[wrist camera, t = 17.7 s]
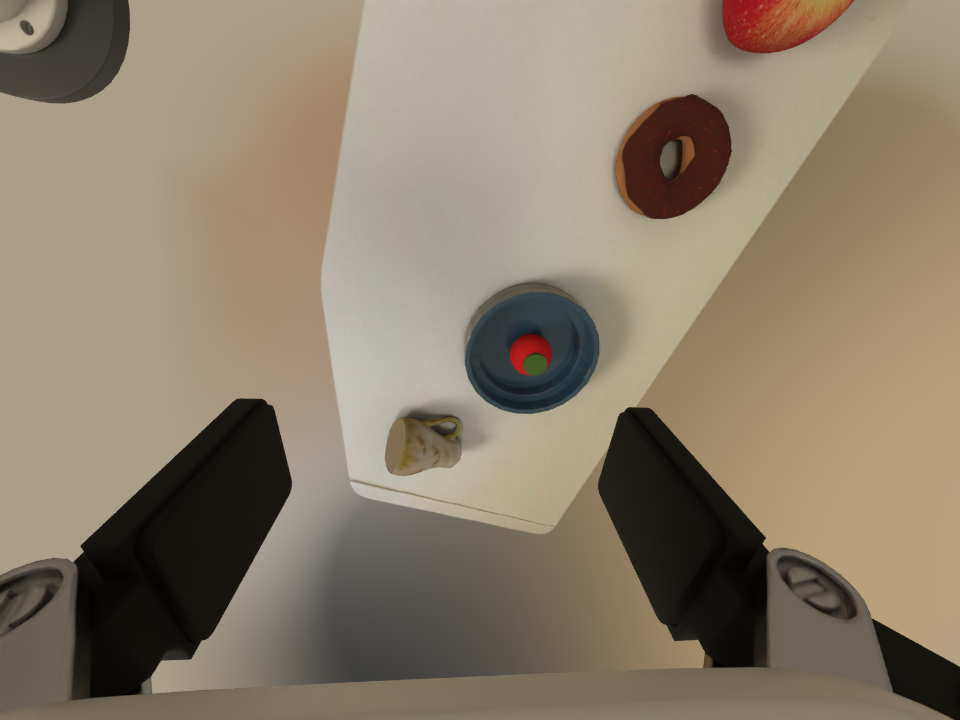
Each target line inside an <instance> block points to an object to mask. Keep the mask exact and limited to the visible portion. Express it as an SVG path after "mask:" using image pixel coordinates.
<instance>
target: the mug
mask: <svg viewBox="0 0 960 720" xmlns="http://www.w3.org/2000/svg"><path fill="white" fill-rule="evenodd" d="M444 422H454V423H455V424H456V430H455V432H454V433H452V434H447V435H445V436H442V435H440V434H438V433H437V432H435V431H434V430H433V429H431V426H433V425H437V424H440V423H444ZM461 431H462V423H461V421H460V420H459V419H457V418H455V417H443V418H439V419H434V420H421V421H418V420H416V419H412V418H403V417H399V418H398V419H397V420H396V422H395V423H394V424H393V426H392V428H391V430H390V433H389V437H388V440H387V445H386V452H385V461H386V466H387V469H388V471H389V473H391V474H395V475H399V476H406V475H412V474H415V473H419V472H421V471H424V470H427V469H431V468H435V467H443V468H452V467H453V466H454V465H456V464H457V463H458V462H459V460H460V458H461V453H462V452H461V446H460V444H459V442H458V441H457V440H456V439H455V438H456V437H457V436H458V435H460V433H461Z"/></svg>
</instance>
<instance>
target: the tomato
mask: <svg viewBox="0 0 960 720" xmlns="http://www.w3.org/2000/svg"><path fill="white" fill-rule="evenodd" d="M510 359H511V362H512V365H513V366H514V368H515V369H516V370H517V371H519V372H520V373H522V374H524V375H529V376H536V375H540V374H542V373H543V372H544V371H545V370H546V369H547V368H548V366H549V365H550V363H551V360H552V349H551V347H550V345H549V343H548V342H547V341H546V340H545V339H544V338H543V337H541V336H539V335H536V334H526V335H523V336H521V337H519V338H518V339H517V340H516V341H515V342H514V343H513V345H512V347H511V350H510Z"/></svg>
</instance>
